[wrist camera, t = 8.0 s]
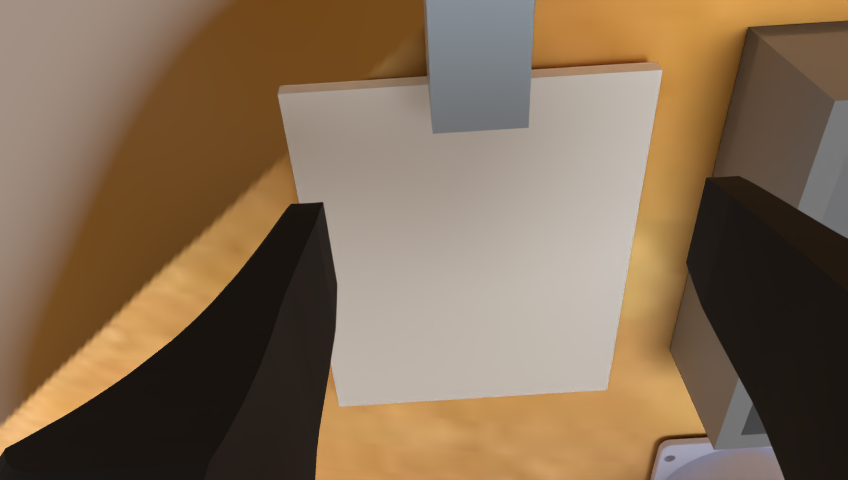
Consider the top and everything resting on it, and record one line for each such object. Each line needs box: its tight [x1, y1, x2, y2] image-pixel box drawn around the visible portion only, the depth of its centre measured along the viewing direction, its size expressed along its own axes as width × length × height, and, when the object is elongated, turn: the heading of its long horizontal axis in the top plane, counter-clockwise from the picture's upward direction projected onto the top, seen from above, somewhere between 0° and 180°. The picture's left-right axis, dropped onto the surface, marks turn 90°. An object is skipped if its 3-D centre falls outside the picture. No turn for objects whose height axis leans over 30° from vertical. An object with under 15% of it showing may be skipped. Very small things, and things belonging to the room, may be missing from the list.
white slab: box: [278, 0, 663, 407], centre depth 23 cm, size 18×11×4 cm, turn 3°
